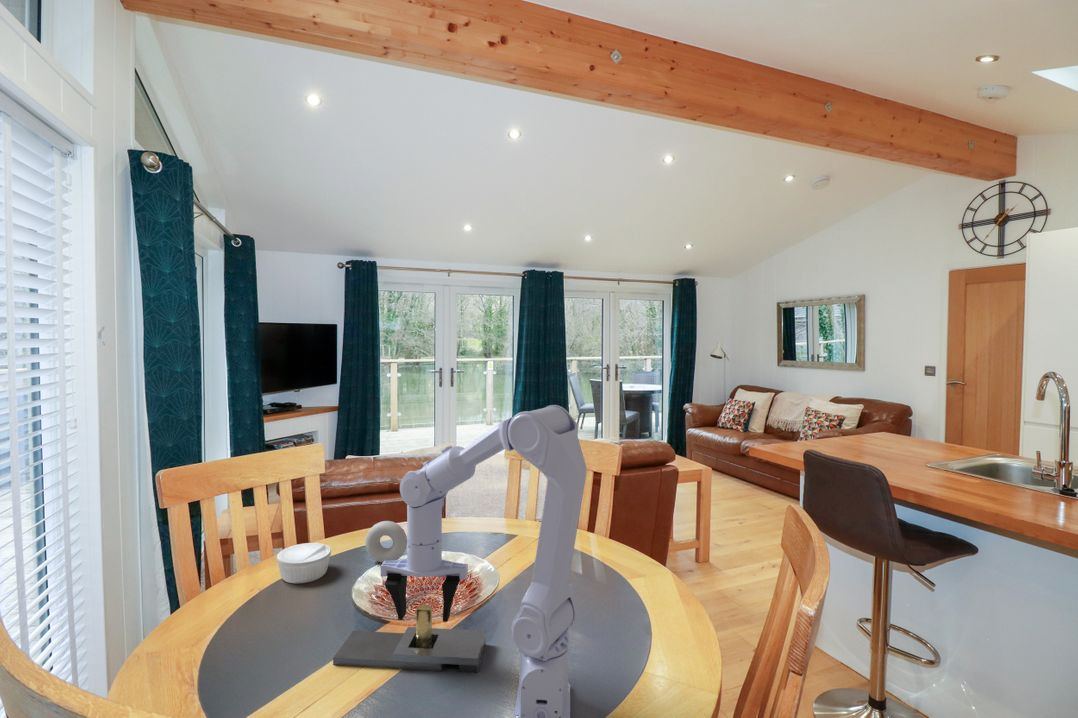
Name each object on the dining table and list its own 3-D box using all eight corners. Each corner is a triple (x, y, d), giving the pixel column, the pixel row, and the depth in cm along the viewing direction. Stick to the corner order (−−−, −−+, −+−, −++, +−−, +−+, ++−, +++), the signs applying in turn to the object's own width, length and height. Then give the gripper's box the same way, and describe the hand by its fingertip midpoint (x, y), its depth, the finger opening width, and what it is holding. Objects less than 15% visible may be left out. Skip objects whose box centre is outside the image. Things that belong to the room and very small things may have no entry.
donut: (409, 560, 127) (409, 519, 127) (404, 566, 124) (404, 524, 124) (368, 558, 128) (368, 518, 128) (363, 564, 125) (363, 523, 124)
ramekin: (331, 582, 116) (331, 558, 116) (274, 590, 112) (274, 565, 112) (331, 561, 126) (331, 539, 126) (279, 568, 122) (279, 545, 122)
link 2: (477, 672, 85) (477, 658, 85) (392, 668, 86) (392, 653, 86) (485, 644, 93) (485, 630, 93) (407, 640, 94) (407, 626, 94)
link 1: (440, 670, 86) (441, 663, 86) (333, 664, 87) (333, 657, 87) (452, 642, 94) (452, 635, 94) (353, 637, 95) (353, 630, 95)
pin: (428, 659, 89) (429, 613, 88) (413, 658, 89) (414, 611, 89) (433, 650, 91) (434, 605, 91) (419, 649, 92) (419, 604, 91)
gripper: (471, 531, 93) (470, 607, 93) (390, 528, 94) (390, 603, 94) (463, 547, 86) (462, 629, 86) (375, 544, 87) (375, 625, 87)
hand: (424, 617), depth 90 cm, fingers open, 7 cm apart
